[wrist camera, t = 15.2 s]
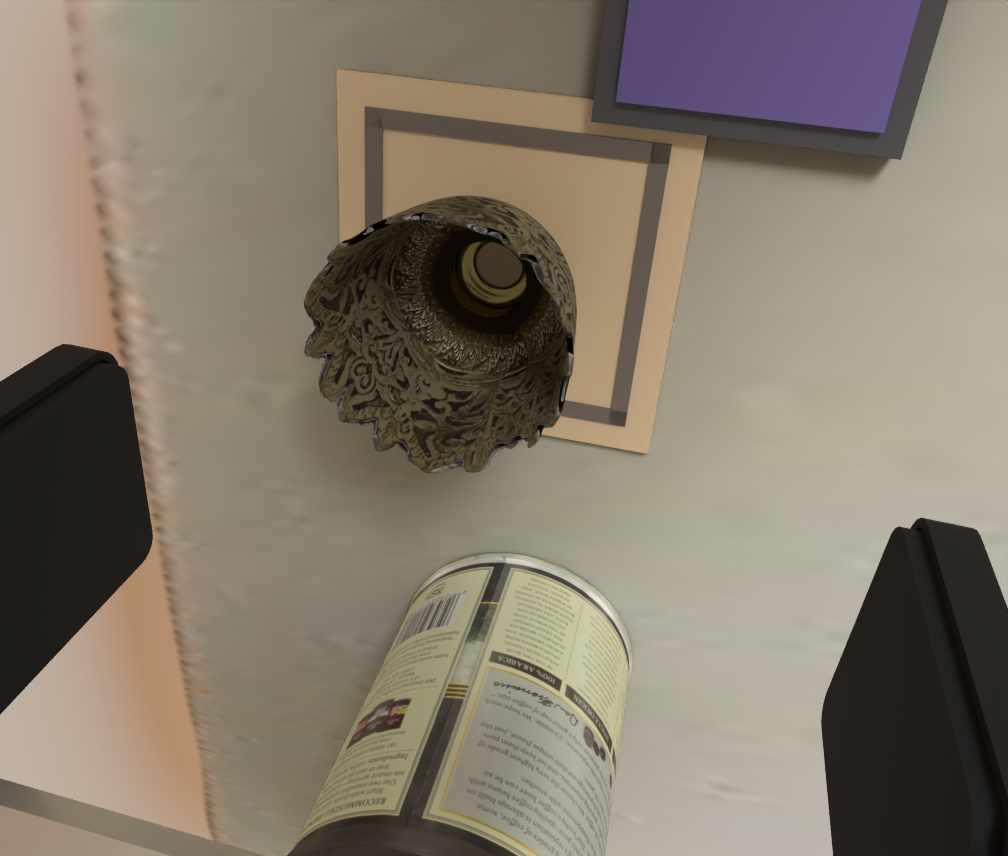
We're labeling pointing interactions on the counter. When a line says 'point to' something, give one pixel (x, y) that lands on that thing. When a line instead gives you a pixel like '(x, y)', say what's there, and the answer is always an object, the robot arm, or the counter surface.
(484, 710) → the coffee can
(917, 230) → the counter surface
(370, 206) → the print card
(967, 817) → the robot arm
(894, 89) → the ink pad
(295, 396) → the counter surface
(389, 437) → the cup
